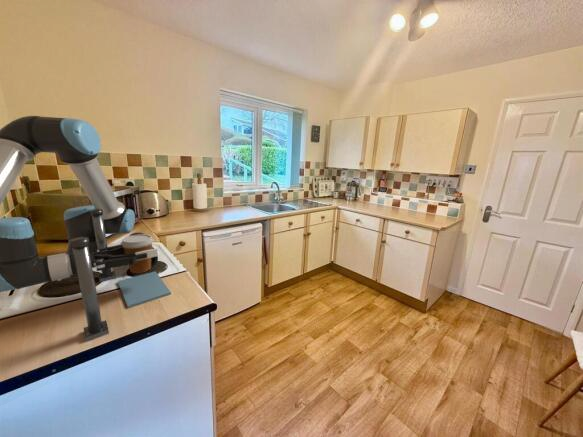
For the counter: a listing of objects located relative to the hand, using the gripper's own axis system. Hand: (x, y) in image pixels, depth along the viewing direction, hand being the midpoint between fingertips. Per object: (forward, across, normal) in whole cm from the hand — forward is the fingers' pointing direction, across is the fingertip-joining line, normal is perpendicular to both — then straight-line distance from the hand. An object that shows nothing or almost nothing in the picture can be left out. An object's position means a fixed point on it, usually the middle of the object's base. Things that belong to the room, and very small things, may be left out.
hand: (153, 248), depth 87 cm
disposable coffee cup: (-5, 0, -7) cm, 9 cm away
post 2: (-14, -17, -15) cm, 27 cm away
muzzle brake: (0, -27, -15) cm, 31 cm away
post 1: (-20, +17, -15) cm, 30 cm away
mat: (-5, 0, -15) cm, 16 cm away
